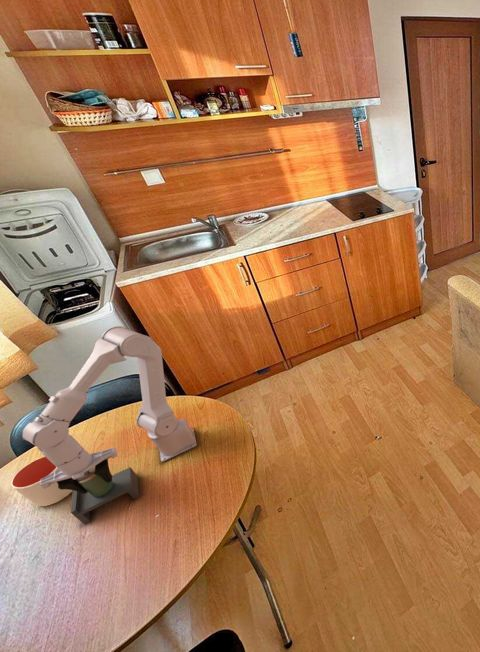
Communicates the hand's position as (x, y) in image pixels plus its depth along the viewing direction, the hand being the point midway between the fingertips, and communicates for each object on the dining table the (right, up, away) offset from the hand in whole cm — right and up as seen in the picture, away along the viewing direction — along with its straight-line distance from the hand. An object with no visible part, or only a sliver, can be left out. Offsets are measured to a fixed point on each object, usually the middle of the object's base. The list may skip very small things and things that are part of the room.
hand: (98, 484), depth 101 cm
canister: (0, -2, +1) cm, 2 cm away
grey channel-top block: (0, -6, +4) cm, 7 cm away
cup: (-17, -5, +6) cm, 19 cm away
